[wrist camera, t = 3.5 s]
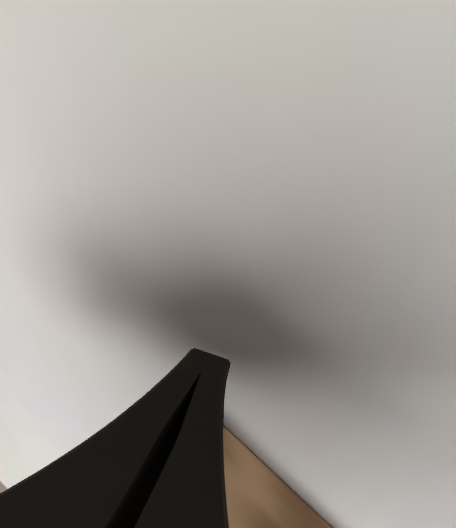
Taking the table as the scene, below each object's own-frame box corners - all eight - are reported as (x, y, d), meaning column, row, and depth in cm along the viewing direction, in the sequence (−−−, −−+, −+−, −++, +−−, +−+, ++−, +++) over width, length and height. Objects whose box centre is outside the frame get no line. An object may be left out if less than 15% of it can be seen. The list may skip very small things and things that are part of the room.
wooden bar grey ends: (358, 551, 14) (371, 668, 11) (330, 554, 15) (335, 663, 12) (194, 397, 13) (156, 483, 10) (172, 409, 14) (130, 492, 10)
